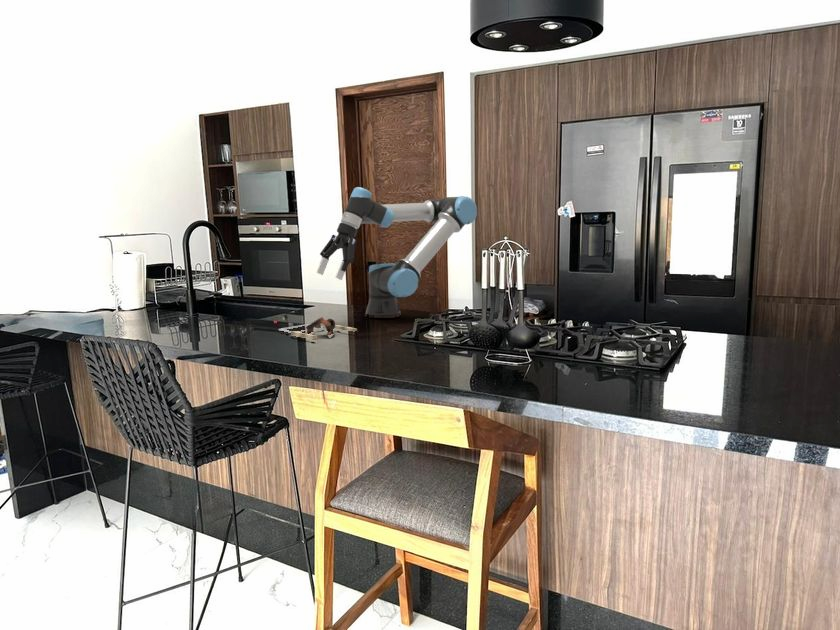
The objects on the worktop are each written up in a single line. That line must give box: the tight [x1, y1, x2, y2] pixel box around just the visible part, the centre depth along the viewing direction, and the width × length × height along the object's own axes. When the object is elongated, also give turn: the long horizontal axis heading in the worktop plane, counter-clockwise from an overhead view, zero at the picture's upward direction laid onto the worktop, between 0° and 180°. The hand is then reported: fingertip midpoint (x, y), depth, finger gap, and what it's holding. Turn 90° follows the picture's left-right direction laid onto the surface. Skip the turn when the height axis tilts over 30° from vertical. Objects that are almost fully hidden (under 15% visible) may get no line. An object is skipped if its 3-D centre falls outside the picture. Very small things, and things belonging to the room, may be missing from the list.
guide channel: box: [290, 324, 358, 341], centre depth 226 cm, size 14×19×2 cm
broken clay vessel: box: [306, 316, 336, 335], centre depth 227 cm, size 12×10×8 cm
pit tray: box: [277, 323, 325, 333], centre depth 236 cm, size 10×14×2 cm
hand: (328, 276), depth 240 cm, fingers open, 13 cm apart
